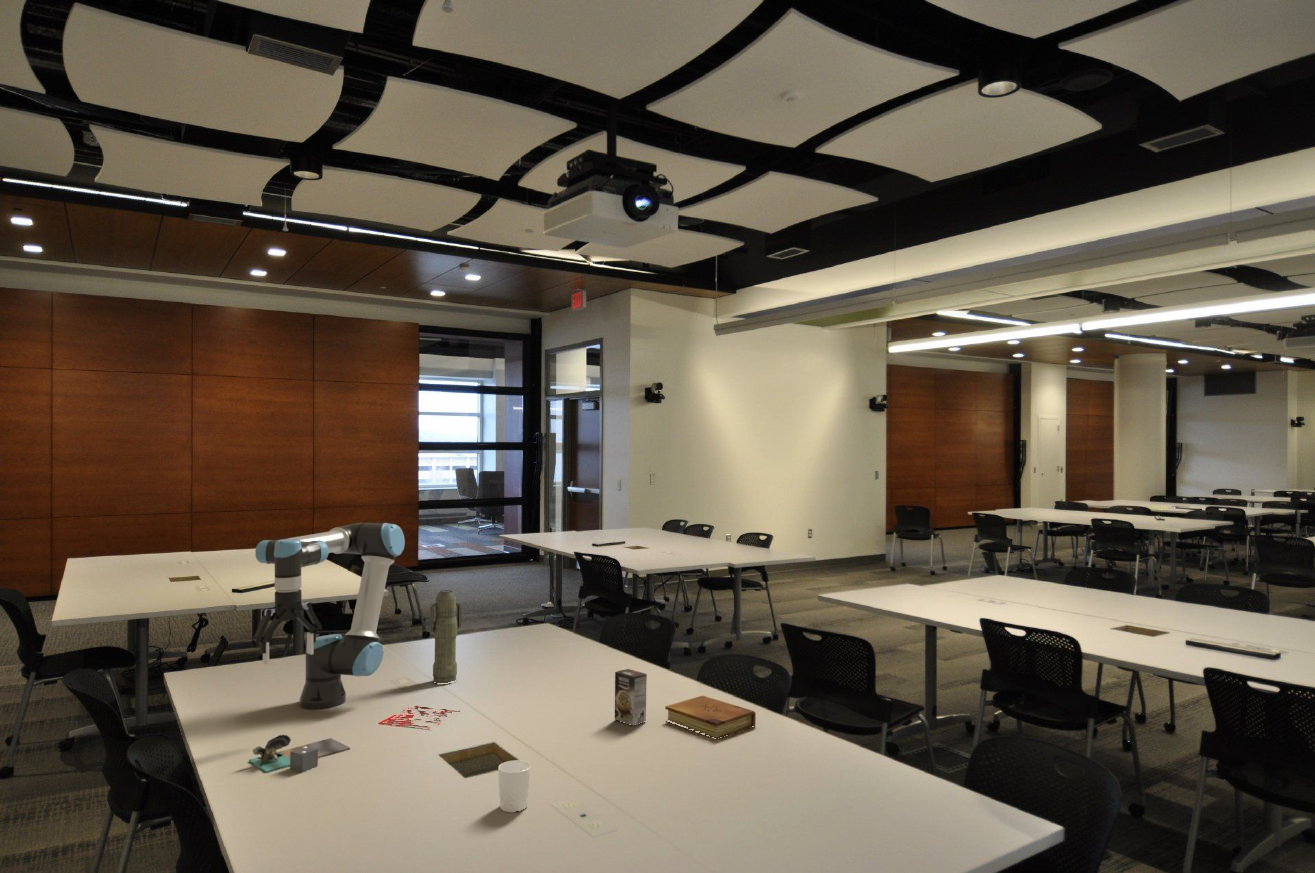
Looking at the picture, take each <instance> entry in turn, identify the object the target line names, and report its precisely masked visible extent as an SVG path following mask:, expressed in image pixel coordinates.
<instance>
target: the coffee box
mask: <svg viewBox="0 0 1315 873" xmlns="http://www.w3.org/2000/svg"><path fill="white" fill-rule="evenodd" d="M647 680H648V678H647V673H644V672H641V671H637V670H633V669H630V668H626V669H622V670H621V669H620V670H618V671H617V670H616V671H615V672H614V721H615V720H619V721H621V722H625V723H627V724H631V725H635V724H639V723H641V722H644V721H646V722H647V684H648V683H647ZM621 722H620V723H621ZM627 724H626V725H627Z"/></svg>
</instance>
